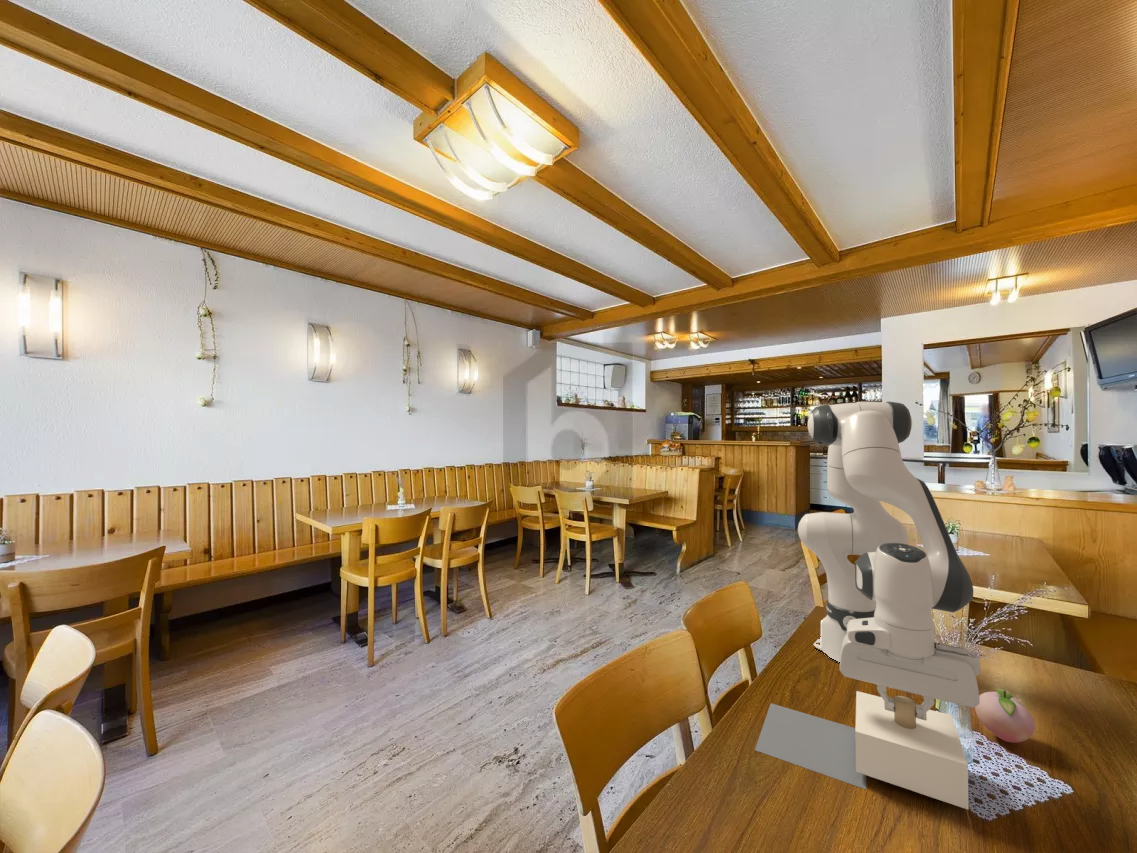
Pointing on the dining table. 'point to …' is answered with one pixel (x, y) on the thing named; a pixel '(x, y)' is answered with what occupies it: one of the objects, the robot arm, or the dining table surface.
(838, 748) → the mat
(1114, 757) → the dining table surface
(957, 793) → the cover
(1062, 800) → the dining table surface
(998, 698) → the decorative fruit
